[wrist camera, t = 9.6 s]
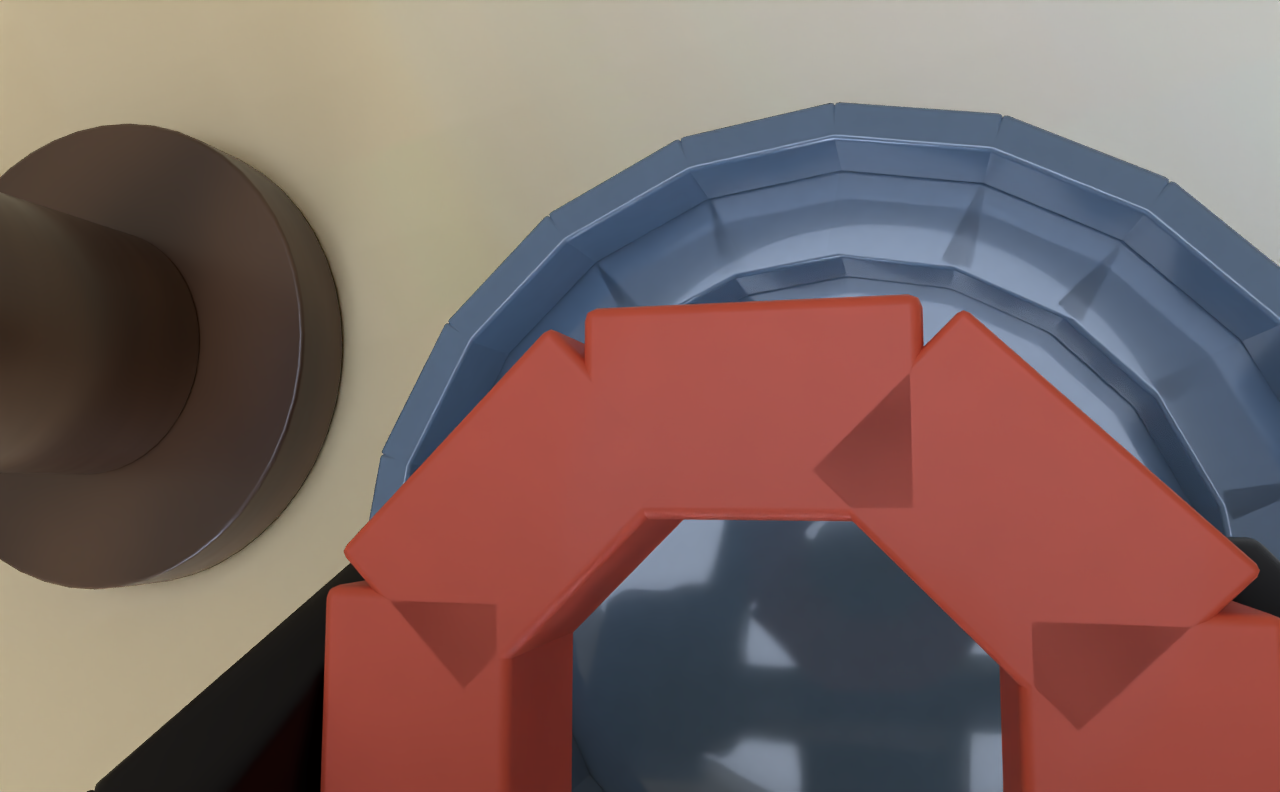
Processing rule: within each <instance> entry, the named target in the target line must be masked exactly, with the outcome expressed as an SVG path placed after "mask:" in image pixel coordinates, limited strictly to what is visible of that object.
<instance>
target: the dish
mask: <svg viewBox="0 0 1280 792" xmlns="http://www.w3.org/2000/svg"><path fill="white" fill-rule="evenodd" d="M549 215H550V217H549V216H546V217H545V218H544V219H543V220H542V221H541V222H540V223H539V224H538V225H537V226H536V227H535V228H534V229H533V230H532V232H531V233H530V234H529V235H528V236H527V237H526V238H525V239H524V240H523V241H522V242H521V243H520V244H519V245H518V246H517V248H516V249H515V250H514V251H513V252H512V253H511V254H510V255H509V256H508V257H507V258H506V259H505V260H504V261H503V263H502V264H501V265H500V266H499V267H498V268H497V269H496V270H495V271H494V272H493V273H492V274H491V275H490V276H489V278H488V279H487V280H486V281H485V282H484V283H483V284H482V285H481V286H480V287H479V288H478V289H477V290H476V291H475V292H474V294H473V295H472V296H471V297H470V298H469V299H468V300H467V301H466V302H465V303H464V304H463V305H462V306H461V307H460V309H459V310H458V311H457V312H456V313H455V314H454V315H453V316H452V317H451V318H450V319H449V321H448V322H449V323H446V324H445V326H444V328H443V330H442V332H441V334H440V336H439V338H438V340H437V342H436V344H435V346H434V348H433V350H432V352H431V354H430V356H429V358H428V360H427V362H426V364H425V366H424V368H423V370H422V372H421V374H420V376H419V378H418V380H417V382H416V384H415V386H414V388H413V390H412V392H411V394H410V396H409V398H408V400H407V402H406V404H405V406H404V408H403V410H402V412H401V414H400V416H399V418H398V420H397V422H396V424H395V426H394V428H393V430H392V432H391V434H390V436H389V438H388V440H387V442H386V444H385V446H384V448H383V450H382V453H383V455H382V456H381V458H380V463H379V469H378V474H377V480H376V485H375V491H374V497H373V502H372V508H371V513H370V519H369V521H370V520H371V518H372V517H373V516H374V515H375V514H376V513H377V512H378V511H379V510H380V509H381V508H382V507H383V506H384V504H385V503H386V502H387V501H388V500H389V499H390V498H391V497H392V496H393V495H394V494H395V493H396V491H397V490H398V489H399V488H400V487H401V486H402V485H403V484H404V483H405V482H406V481H407V480H408V479H409V477H410V476H411V475H412V474H413V473H414V472H415V471H416V470H417V469H418V468H419V467H420V466H421V465H422V463H423V462H424V461H425V460H426V459H427V458H428V457H429V456H430V455H431V454H432V453H433V452H434V451H435V449H436V448H437V447H438V446H439V445H440V444H441V443H442V442H443V441H444V440H445V439H446V438H447V437H448V435H449V434H450V433H451V432H452V431H453V430H454V429H455V428H456V427H457V426H458V425H459V424H460V423H461V421H462V420H463V419H464V418H465V417H466V416H467V415H468V414H469V413H470V412H471V411H472V410H473V409H474V407H475V406H476V405H477V404H478V403H479V402H480V401H481V400H482V399H483V398H484V397H485V396H486V395H487V393H488V392H489V391H490V390H491V389H492V388H493V387H494V386H495V385H496V384H497V383H498V382H499V380H500V379H501V378H502V377H503V376H504V375H505V374H506V373H507V372H508V371H509V370H510V369H511V368H512V366H513V365H514V364H515V363H516V362H517V361H518V360H519V359H520V358H521V357H522V356H523V355H524V354H525V352H526V351H527V350H528V349H529V348H530V347H531V346H532V345H533V344H534V343H535V342H536V341H537V340H538V338H539V337H540V336H541V335H542V334H543V333H544V332H547V331H549V330H551V329H552V330H554V331H557V332H559V333H562V334H564V335H566V336H568V337H570V338H573V339H575V340H577V341H579V342H581V343H584V344H585V320H586V317H587V314H588V312H591V311H593V310H595V309H597V308H618V307H640V306H662V305H684V304H706V303H728V302H749V301H771V300H793V299H815V298H837V297H859V296H881V295H902V294H909V295H912V296H915V297H918V298H919V300H920V302H921V305H922V307H923V340H924V346H925V345H926V344H927V343H928V342H929V341H930V340H931V339H932V338H933V337H934V336H935V335H936V334H937V333H938V332H939V331H940V330H941V329H942V328H943V327H944V326H945V325H946V324H947V323H948V322H949V321H950V320H951V319H952V318H953V317H954V316H955V315H956V314H957V313H958V312H961V311H963V310H964V311H967V312H970V313H971V314H972V315H973V316H974V317H976V318H977V319H978V320H979V321H980V322H981V323H982V324H984V325H985V326H986V327H987V328H988V329H989V330H990V331H992V332H993V333H994V334H995V335H996V336H997V337H998V338H999V339H1001V340H1002V341H1003V342H1004V343H1005V344H1006V345H1007V346H1009V347H1010V348H1011V349H1012V350H1013V351H1014V352H1015V353H1017V354H1018V355H1019V356H1020V357H1021V358H1022V359H1023V360H1025V361H1026V362H1027V363H1028V364H1029V365H1030V366H1031V367H1033V368H1034V369H1035V370H1036V371H1037V372H1038V373H1039V374H1041V375H1042V376H1043V377H1044V378H1045V379H1046V380H1047V381H1049V382H1050V383H1051V384H1052V385H1053V386H1054V387H1055V388H1057V389H1058V390H1059V391H1060V392H1061V393H1062V394H1063V395H1065V396H1066V397H1067V398H1068V399H1069V400H1070V401H1071V402H1073V403H1074V404H1075V405H1076V406H1077V407H1078V408H1079V409H1081V410H1082V411H1083V412H1084V413H1085V414H1086V415H1087V416H1089V417H1090V418H1091V419H1092V420H1093V421H1094V422H1095V423H1096V424H1098V425H1099V426H1100V427H1101V428H1102V429H1103V430H1104V431H1106V432H1107V433H1108V434H1109V435H1110V436H1111V437H1112V438H1114V439H1115V440H1116V441H1117V442H1118V443H1119V444H1120V445H1122V446H1123V447H1124V448H1125V449H1126V450H1127V451H1128V452H1130V453H1131V454H1132V455H1133V456H1134V457H1135V458H1136V459H1138V460H1139V461H1140V462H1141V463H1142V464H1143V465H1144V466H1146V467H1147V468H1148V469H1149V470H1150V471H1151V472H1152V473H1154V474H1155V475H1156V476H1157V477H1158V478H1159V479H1160V480H1162V481H1163V482H1164V483H1165V484H1166V485H1167V486H1168V487H1170V488H1171V489H1172V490H1173V491H1174V492H1175V493H1176V494H1178V495H1179V496H1180V497H1181V498H1182V499H1183V500H1184V501H1185V502H1187V503H1188V504H1189V505H1190V506H1191V507H1192V508H1193V509H1195V510H1196V511H1197V512H1198V513H1199V514H1200V515H1201V516H1203V517H1204V518H1205V519H1206V520H1207V521H1208V522H1209V523H1211V524H1212V525H1213V526H1214V527H1215V528H1216V529H1217V530H1219V531H1220V532H1221V533H1222V534H1223V535H1224V536H1225V537H1248V538H1252V539H1255V540H1257V541H1258V542H1260V543H1261V544H1262V545H1264V546H1265V547H1266V548H1267V549H1268V550H1269V551H1270V552H1271V553H1272V554H1273V555H1274V556H1275V557H1276V558H1277V559H1278V560H1279V561H1280V267H1279V266H1278V265H1277V264H1275V263H1274V262H1273V261H1272V260H1270V259H1269V258H1268V257H1267V256H1265V255H1264V254H1263V253H1262V252H1260V251H1259V250H1258V249H1257V248H1256V247H1254V246H1253V245H1252V244H1251V243H1249V242H1248V241H1247V240H1246V239H1244V238H1243V237H1242V236H1241V235H1239V234H1238V233H1237V232H1236V231H1235V230H1233V229H1232V228H1231V227H1230V226H1228V225H1227V224H1226V223H1225V222H1223V221H1222V220H1221V219H1220V218H1218V217H1217V216H1216V215H1215V214H1214V213H1212V212H1211V211H1210V210H1209V209H1207V208H1206V207H1205V206H1204V205H1202V204H1201V203H1200V202H1199V201H1197V200H1196V199H1195V198H1194V197H1193V196H1191V195H1190V194H1189V193H1188V192H1186V191H1185V190H1184V189H1183V188H1181V187H1180V186H1179V185H1178V184H1176V183H1175V182H1172V181H1171V182H1169V179H1167V178H1166V177H1164V176H1162V175H1159V174H1156V173H1154V172H1151V171H1149V170H1146V169H1144V168H1141V167H1138V166H1136V165H1133V164H1131V163H1128V162H1126V161H1123V160H1121V159H1118V158H1115V157H1113V156H1110V155H1108V154H1105V153H1103V152H1100V151H1097V150H1095V149H1092V148H1090V147H1087V146H1085V145H1082V144H1080V143H1077V142H1074V141H1072V140H1069V139H1067V138H1064V137H1062V136H1059V135H1056V134H1054V133H1051V132H1049V131H1046V130H1044V129H1041V128H1039V127H1036V126H1033V125H1031V124H1028V123H1026V122H1023V121H1021V120H1018V119H1015V118H1013V117H1010V116H1004V117H1002V115H1001V114H998V113H984V112H970V111H956V110H942V109H928V108H913V107H899V106H885V105H871V104H857V103H843V102H839V103H836V104H835V105H834V104H833V103H828V104H824V105H820V106H815V107H811V108H807V109H802V110H798V111H794V112H789V113H785V114H781V115H777V116H772V117H768V118H764V119H759V120H755V121H751V122H746V123H742V124H738V125H734V126H729V127H725V128H721V129H716V130H712V131H708V132H703V133H699V134H695V135H690V136H686V137H683V138H681V141H680V140H675V141H673V142H672V143H670V144H668V145H667V146H665V147H663V148H661V149H660V150H658V151H656V152H654V153H653V154H651V155H649V156H648V157H646V158H644V159H642V160H641V161H639V162H637V163H635V164H634V165H632V166H630V167H629V168H627V169H625V170H623V171H622V172H620V173H618V174H616V175H615V176H613V177H611V178H610V179H608V180H606V181H604V182H603V183H601V184H599V185H597V186H596V187H594V188H592V189H591V190H589V191H587V192H585V193H584V194H582V195H580V196H578V197H577V198H575V199H573V200H572V201H570V202H568V203H566V204H565V205H563V206H561V207H560V208H558V209H556V210H554V211H553V212H551V213H550V214H549ZM571 792H1003V767H1002V733H1001V699H1000V666H999V665H998V664H997V663H996V662H995V661H994V660H993V659H992V658H991V657H990V656H989V655H988V654H987V653H986V652H985V651H984V650H983V649H982V648H981V647H980V646H979V645H978V644H977V643H976V642H975V641H974V640H973V639H972V638H971V637H970V636H969V635H968V634H967V633H966V632H965V631H964V630H963V629H962V628H961V627H960V626H959V625H958V624H957V623H956V622H955V621H954V620H953V619H952V618H951V617H950V616H949V615H948V614H947V613H945V612H944V611H943V610H942V609H941V608H940V607H939V606H938V605H937V604H936V603H935V602H934V601H933V600H932V599H931V598H930V597H929V596H928V595H927V594H926V593H925V592H924V591H923V590H922V589H921V588H920V587H919V586H918V585H917V584H916V583H915V582H914V581H913V580H912V579H911V578H910V577H909V576H908V575H907V574H906V573H905V572H904V571H903V570H902V569H901V568H900V567H899V566H898V565H897V564H896V563H895V562H894V561H893V560H891V559H890V558H889V557H888V556H887V555H886V554H885V553H884V552H883V551H882V550H881V549H880V548H879V547H878V546H877V545H876V544H875V543H874V542H873V541H872V540H871V539H870V538H869V537H868V536H867V535H866V534H865V533H864V532H863V531H862V530H861V529H860V528H859V527H858V526H857V525H856V524H855V523H854V522H853V521H778V520H687V519H684V520H683V521H682V522H681V523H680V524H679V525H678V526H677V527H676V528H675V529H674V530H673V531H672V532H671V533H670V534H669V535H668V536H667V537H666V538H665V539H664V540H663V541H662V542H661V543H660V544H659V545H658V546H657V547H656V548H655V549H654V550H653V551H652V552H651V553H650V554H649V555H648V556H647V557H646V559H645V560H644V561H643V562H642V563H641V564H640V565H639V566H638V567H637V568H636V569H635V570H634V571H633V572H632V573H631V574H630V575H629V576H628V577H627V578H626V579H625V580H624V581H623V582H622V583H621V584H620V585H619V586H618V587H617V588H616V589H615V590H614V591H613V592H612V593H611V594H610V595H609V596H608V597H607V598H606V599H605V600H604V601H603V602H602V603H601V604H600V605H599V606H598V608H597V609H596V610H595V611H594V612H593V613H592V614H591V615H590V616H589V617H588V618H587V619H586V620H585V621H584V622H583V623H582V624H581V625H580V626H579V627H578V628H577V629H576V630H575V631H574V632H573V679H572V789H571Z"/></svg>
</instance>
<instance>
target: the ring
mask: <svg viewBox="0 0 1280 792" xmlns="http://www.w3.org/2000/svg"><path fill="white" fill-rule="evenodd" d="M684 519H687V520H778V521H853V522H854V523H855V524H856V525H857V526H858V527H859V528H860V529H861V530H862V531H863V532H864V533H865V534H866V535H867V536H868V537H869V538H870V539H871V540H872V541H873V542H874V543H875V544H876V545H877V546H878V547H879V548H880V549H881V550H882V551H883V552H884V553H885V554H886V555H887V556H888V557H889V558H890V559H891V560H893V561H894V562H895V563H896V564H897V565H898V566H899V567H900V568H901V569H902V570H903V571H904V572H905V573H906V574H907V575H908V576H909V577H910V578H911V579H912V580H913V581H914V582H915V583H916V584H917V585H918V586H919V587H920V588H921V589H922V590H923V591H924V592H925V593H926V594H927V595H928V596H929V597H930V598H931V599H932V600H933V601H934V602H935V603H936V604H937V605H938V606H939V607H940V608H941V609H942V610H943V611H944V612H945V613H947V614H948V615H949V616H950V617H951V618H952V619H953V620H954V621H955V622H956V623H957V624H958V625H959V626H960V627H961V628H962V629H963V630H964V631H965V632H966V633H967V634H968V635H969V636H970V637H971V638H972V639H973V640H974V641H975V642H976V643H977V644H978V645H979V646H980V647H981V648H982V649H983V650H984V651H985V652H986V653H987V654H988V655H989V656H990V657H991V658H992V659H993V660H994V661H995V662H996V663H997V664H998V665H999V666H1000V699H1001V733H1002V767H1003V792H1280V618H1279V617H1276V616H1274V615H1271V614H1269V613H1266V612H1263V611H1260V610H1257V609H1254V608H1251V607H1248V606H1245V605H1242V604H1240V603H1237V602H1234V601H1232V600H1233V599H1234V598H1235V597H1236V596H1237V595H1239V594H1240V593H1241V592H1242V591H1243V590H1244V589H1245V588H1246V587H1247V586H1248V585H1249V584H1250V583H1252V582H1253V581H1254V580H1255V579H1256V578H1257V576H1258V574H1259V572H1260V570H1259V568H1258V566H1257V564H1256V563H1255V562H1254V561H1253V560H1252V559H1251V558H1249V557H1248V556H1247V555H1246V554H1245V553H1244V552H1243V551H1241V550H1240V549H1239V548H1238V547H1237V546H1236V545H1235V544H1233V543H1232V542H1231V541H1230V540H1229V539H1228V538H1227V537H1225V536H1224V535H1223V534H1222V533H1221V532H1220V531H1219V530H1217V529H1216V528H1215V527H1214V526H1213V525H1212V524H1211V523H1209V522H1208V521H1207V520H1206V519H1205V518H1204V517H1203V516H1201V515H1200V514H1199V513H1198V512H1197V511H1196V510H1195V509H1193V508H1192V507H1191V506H1190V505H1189V504H1188V503H1187V502H1185V501H1184V500H1183V499H1182V498H1181V497H1180V496H1179V495H1178V494H1176V493H1175V492H1174V491H1173V490H1172V489H1171V488H1170V487H1168V486H1167V485H1166V484H1165V483H1164V482H1163V481H1162V480H1160V479H1159V478H1158V477H1157V476H1156V475H1155V474H1154V473H1152V472H1151V471H1150V470H1149V469H1148V468H1147V467H1146V466H1144V465H1143V464H1142V463H1141V462H1140V461H1139V460H1138V459H1136V458H1135V457H1134V456H1133V455H1132V454H1131V453H1130V452H1128V451H1127V450H1126V449H1125V448H1124V447H1123V446H1122V445H1120V444H1119V443H1118V442H1117V441H1116V440H1115V439H1114V438H1112V437H1111V436H1110V435H1109V434H1108V433H1107V432H1106V431H1104V430H1103V429H1102V428H1101V427H1100V426H1099V425H1098V424H1096V423H1095V422H1094V421H1093V420H1092V419H1091V418H1090V417H1089V416H1087V415H1086V414H1085V413H1084V412H1083V411H1082V410H1081V409H1079V408H1078V407H1077V406H1076V405H1075V404H1074V403H1073V402H1071V401H1070V400H1069V399H1068V398H1067V397H1066V396H1065V395H1063V394H1062V393H1061V392H1060V391H1059V390H1058V389H1057V388H1055V387H1054V386H1053V385H1052V384H1051V383H1050V382H1049V381H1047V380H1046V379H1045V378H1044V377H1043V376H1042V375H1041V374H1039V373H1038V372H1037V371H1036V370H1035V369H1034V368H1033V367H1031V366H1030V365H1029V364H1028V363H1027V362H1026V361H1025V360H1023V359H1022V358H1021V357H1020V356H1019V355H1018V354H1017V353H1015V352H1014V351H1013V350H1012V349H1011V348H1010V347H1009V346H1007V345H1006V344H1005V343H1004V342H1003V341H1002V340H1001V339H999V338H998V337H997V336H996V335H995V334H994V333H993V332H992V331H990V330H989V329H988V328H987V327H986V326H985V325H984V324H982V323H981V322H980V321H979V320H978V319H977V318H976V317H974V316H973V315H972V314H971V313H970V312H967V311H964V310H963V311H961V312H958V313H957V314H956V315H955V316H954V317H953V318H952V319H951V320H950V321H949V322H948V323H947V324H946V325H945V326H944V327H943V328H942V329H941V330H940V331H939V332H938V333H937V334H936V335H935V336H934V337H933V338H932V339H931V340H930V341H929V342H928V343H927V344H926V345H925V346H924V340H923V307H922V305H921V302H920V300H919V298H918V297H915V296H912V295H909V294H902V295H881V296H859V297H837V298H815V299H793V300H771V301H749V302H728V303H706V304H684V305H662V306H640V307H618V308H597V309H595V310H593V311H591V312H588V314H587V317H586V320H585V344H584V343H581V342H579V341H577V340H575V339H573V338H570V337H568V336H566V335H564V334H562V333H559V332H557V331H554V330H552V329H551V330H549V331H547V332H544V333H543V334H542V335H541V336H540V337H539V338H538V340H537V341H536V342H535V343H534V344H533V345H532V346H531V347H530V348H529V349H528V350H527V351H526V352H525V354H524V355H523V356H522V357H521V358H520V359H519V360H518V361H517V362H516V363H515V364H514V365H513V366H512V368H511V369H510V370H509V371H508V372H507V373H506V374H505V375H504V376H503V377H502V378H501V379H500V380H499V382H498V383H497V384H496V385H495V386H494V387H493V388H492V389H491V390H490V391H489V392H488V393H487V395H486V396H485V397H484V398H483V399H482V400H481V401H480V402H479V403H478V404H477V405H476V406H475V407H474V409H473V410H472V411H471V412H470V413H469V414H468V415H467V416H466V417H465V418H464V419H463V420H462V421H461V423H460V424H459V425H458V426H457V427H456V428H455V429H454V430H453V431H452V432H451V433H450V434H449V435H448V437H447V438H446V439H445V440H444V441H443V442H442V443H441V444H440V445H439V446H438V447H437V448H436V449H435V451H434V452H433V453H432V454H431V455H430V456H429V457H428V458H427V459H426V460H425V461H424V462H423V463H422V465H421V466H420V467H419V468H418V469H417V470H416V471H415V472H414V473H413V474H412V475H411V476H410V477H409V479H408V480H407V481H406V482H405V483H404V484H403V485H402V486H401V487H400V488H399V489H398V490H397V491H396V493H395V494H394V495H393V496H392V497H391V498H390V499H389V500H388V501H387V502H386V503H385V504H384V506H383V507H382V508H381V509H380V510H379V511H378V512H377V513H376V514H375V515H374V516H373V517H372V518H371V520H370V521H369V522H368V523H367V524H366V525H365V526H364V527H363V528H362V529H361V530H360V531H359V532H358V534H357V535H356V536H355V537H354V538H353V539H352V540H351V541H350V542H349V543H348V544H347V546H346V548H345V550H344V553H345V556H346V558H347V559H348V560H349V561H350V563H351V564H352V565H353V566H354V567H355V569H356V570H357V571H358V572H359V573H360V575H361V576H362V577H363V578H364V579H365V581H359V582H353V583H347V584H341V585H338V586H336V587H333V588H331V589H330V590H329V593H328V595H327V603H326V635H325V666H324V698H323V729H322V761H321V792H571V789H572V679H573V632H574V631H575V630H576V629H577V628H578V627H579V626H580V625H581V624H582V623H583V622H584V621H585V620H586V619H587V618H588V617H589V616H590V615H591V614H592V613H593V612H594V611H595V610H596V609H597V608H598V606H599V605H600V604H601V603H602V602H603V601H604V600H605V599H606V598H607V597H608V596H609V595H610V594H611V593H612V592H613V591H614V590H615V589H616V588H617V587H618V586H619V585H620V584H621V583H622V582H623V581H624V580H625V579H626V578H627V577H628V576H629V575H630V574H631V573H632V572H633V571H634V570H635V569H636V568H637V567H638V566H639V565H640V564H641V563H642V562H643V561H644V560H645V559H646V557H647V556H648V555H649V554H650V553H651V552H652V551H653V550H654V549H655V548H656V547H657V546H658V545H659V544H660V543H661V542H662V541H663V540H664V539H665V538H666V537H667V536H668V535H669V534H670V533H671V532H672V531H673V530H674V529H675V528H676V527H677V526H678V525H679V524H680V523H681V522H682V521H683V520H684Z"/></svg>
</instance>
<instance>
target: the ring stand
mask: <svg viewBox="0 0 1280 792" xmlns="http://www.w3.org/2000/svg"><path fill="white" fill-rule="evenodd" d="M341 359H342V332H341V317H340V310H339V305H338V299H337V294H336V289H335V284H334V281H333V278H332V275H331V272H330V269H329V266H328V262H327V259H326V257H325V255H324V253H323V251H322V249H321V246H320V244H319V242H318V240H317V238H316V236H315V234H314V232H313V230H312V229H311V227H310V226H309V224H308V223H307V221H306V220H305V218H304V217H303V215H302V213H301V212H300V210H299V209H298V208H297V207H296V206H295V205H294V203H293V202H292V201H291V200H290V199H289V198H288V196H287V195H286V194H285V193H284V192H283V191H282V190H281V189H280V188H279V187H278V186H276V185H275V184H274V183H273V182H272V181H271V180H269V179H268V178H267V177H266V176H265V175H264V174H262V173H261V172H259V171H257V170H256V169H254V168H253V167H251V166H249V165H248V164H246V163H244V162H243V161H241V160H239V159H237V158H235V157H233V156H231V155H229V154H227V153H225V152H222V151H220V150H218V149H216V148H214V147H212V146H210V145H208V144H206V143H204V142H202V141H200V140H197V139H195V138H192V137H190V136H188V135H185V134H183V133H180V132H178V131H174V130H170V129H165V128H161V127H157V126H151V125H138V124H120V125H107V126H99V127H95V128H91V129H86V130H82V131H78V132H75V133H72V134H70V135H67V136H65V137H62V138H59V139H57V140H54V141H52V142H50V143H49V144H47V145H45V146H43V147H41V148H39V149H38V150H36V151H34V152H32V153H30V154H29V155H28V156H26V157H25V158H24V159H22V160H21V161H20V162H18V163H17V164H15V165H14V166H13V167H11V168H10V169H9V170H8V171H7V172H5V173H4V174H3V175H2V176H1V177H0V559H1V560H2V561H4V562H5V563H7V564H9V565H10V566H12V567H14V568H15V569H17V570H19V571H20V572H23V573H25V574H28V575H30V576H32V577H35V578H37V579H40V580H42V581H44V582H48V583H52V584H57V585H61V586H65V587H69V588H83V589H105V588H116V587H125V586H133V585H141V584H149V583H156V582H164V581H170V580H174V579H178V578H182V577H186V576H190V575H193V574H195V573H198V572H200V571H202V570H205V569H207V568H210V567H212V566H214V565H217V564H218V563H220V562H222V561H223V560H225V559H227V558H228V557H230V556H232V555H233V554H235V553H237V552H238V551H240V550H241V549H243V548H244V547H245V546H246V545H248V544H249V543H250V542H251V541H253V540H254V539H255V538H256V537H258V536H259V535H260V534H261V533H262V532H263V531H264V530H265V529H266V528H267V527H268V526H269V525H270V524H271V523H272V522H273V521H274V520H275V519H276V518H277V517H278V516H279V515H280V514H281V513H282V512H283V510H284V509H285V508H286V506H287V505H288V504H289V502H290V501H291V500H292V498H293V497H294V496H295V494H296V493H297V492H298V490H299V489H300V487H301V486H302V484H303V482H304V480H305V479H306V477H307V475H308V473H309V472H310V470H311V468H312V466H313V465H314V463H315V461H316V459H317V456H318V454H319V451H320V449H321V447H322V444H323V442H324V440H325V437H326V435H327V432H328V429H329V425H330V422H331V418H332V415H333V411H334V408H335V405H336V399H337V393H338V387H339V381H340V375H341Z"/></svg>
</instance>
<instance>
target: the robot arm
mask: <svg viewBox="0 0 1280 792" xmlns="http://www.w3.org/2000/svg"><path fill="white" fill-rule="evenodd" d="M1227 538H1228V539H1229V540H1230V541H1231V542H1232V543H1233V544H1235V545H1236V546H1237V547H1238V548H1239V549H1240V550H1241V551H1243V552H1244V553H1245V554H1246V555H1247V556H1248V557H1249V558H1251V559H1252V560H1253V561H1254V562H1255V563H1256V564H1257V566H1258V568H1259V570H1260V572H1259V574H1258V576H1257V578H1256V579H1255V580H1254V581H1253V582H1252V583H1250V584H1249V585H1248V586H1247V587H1246V588H1245V589H1244V590H1243V591H1242V592H1241V593H1240V594H1239V595H1237V596H1236V597H1235V598H1234V599H1233V600H1232V601H1234V602H1237V603H1240V604H1242V605H1245V606H1248V607H1251V608H1254V609H1257V610H1260V611H1263V612H1266V613H1269V614H1271V615H1274V616H1276V617H1279V618H1280V561H1279V560H1278V559H1277V558H1276V557H1275V556H1274V555H1273V554H1272V553H1271V552H1270V551H1269V550H1268V549H1267V548H1266V547H1265V546H1264V545H1262V544H1261V543H1260V542H1258V541H1257V540H1255V539H1252V538H1248V537H1227ZM359 581H365V579H364V578H363V577H362V576H361V575H360V573H359V572H358V571H357V570H356V569H355V567H354V566H353V565H352V564H351V563H350V564H349V565H348V566H346V567H345V568H344V569H343V570H342V571H341V572H340V573H338V574H337V575H336V576H335V577H334V578H333V579H331V580H330V581H329V582H328V583H327V584H326V585H325V586H323V587H322V588H321V589H320V590H319V591H318V592H317V593H315V594H314V595H313V596H312V597H311V598H310V599H308V600H307V601H306V602H305V603H304V604H303V605H302V606H300V607H299V608H298V609H297V610H296V611H295V612H294V613H292V614H291V615H290V616H289V617H288V618H287V619H285V620H284V621H283V622H282V623H281V624H280V625H279V626H277V627H276V628H275V629H274V630H273V631H272V632H270V633H269V634H268V635H267V636H266V637H265V638H264V639H262V640H261V641H260V642H259V643H258V644H257V645H256V646H254V647H253V648H252V649H251V650H250V651H249V652H247V653H246V654H245V655H244V656H243V657H242V658H241V659H239V660H238V661H237V662H236V663H235V664H234V665H232V666H231V667H230V668H229V669H228V670H227V671H226V672H224V673H223V674H222V675H221V676H220V677H219V678H218V679H216V680H215V681H214V682H213V683H212V684H211V685H209V686H208V687H207V688H206V689H205V690H204V691H203V692H201V693H200V694H199V695H198V696H197V697H196V698H195V699H193V700H192V701H191V702H190V703H189V704H188V705H186V706H185V707H184V708H183V709H182V710H181V711H180V712H178V713H177V714H176V715H175V716H174V717H173V718H171V719H170V720H169V721H168V722H167V723H166V724H165V725H163V726H162V727H161V728H160V729H159V730H158V731H157V732H155V733H154V734H153V735H152V736H151V737H150V738H148V739H147V740H146V741H145V742H144V743H143V744H142V745H140V746H139V747H138V748H137V749H136V750H135V751H134V752H132V753H131V754H130V755H129V756H128V757H127V758H125V759H124V760H123V761H122V762H121V763H120V764H119V765H117V766H116V767H115V768H114V769H113V770H112V771H110V772H109V773H108V774H107V775H106V776H105V777H104V778H102V779H101V780H100V781H99V782H98V783H97V784H96V786H95V791H94V790H90V791H87V792H321V761H322V729H323V698H324V666H325V635H326V603H327V595H328V593H329V590H330V589H331V588H333V587H336V586H338V585H341V584H347V583H353V582H359Z"/></svg>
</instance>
